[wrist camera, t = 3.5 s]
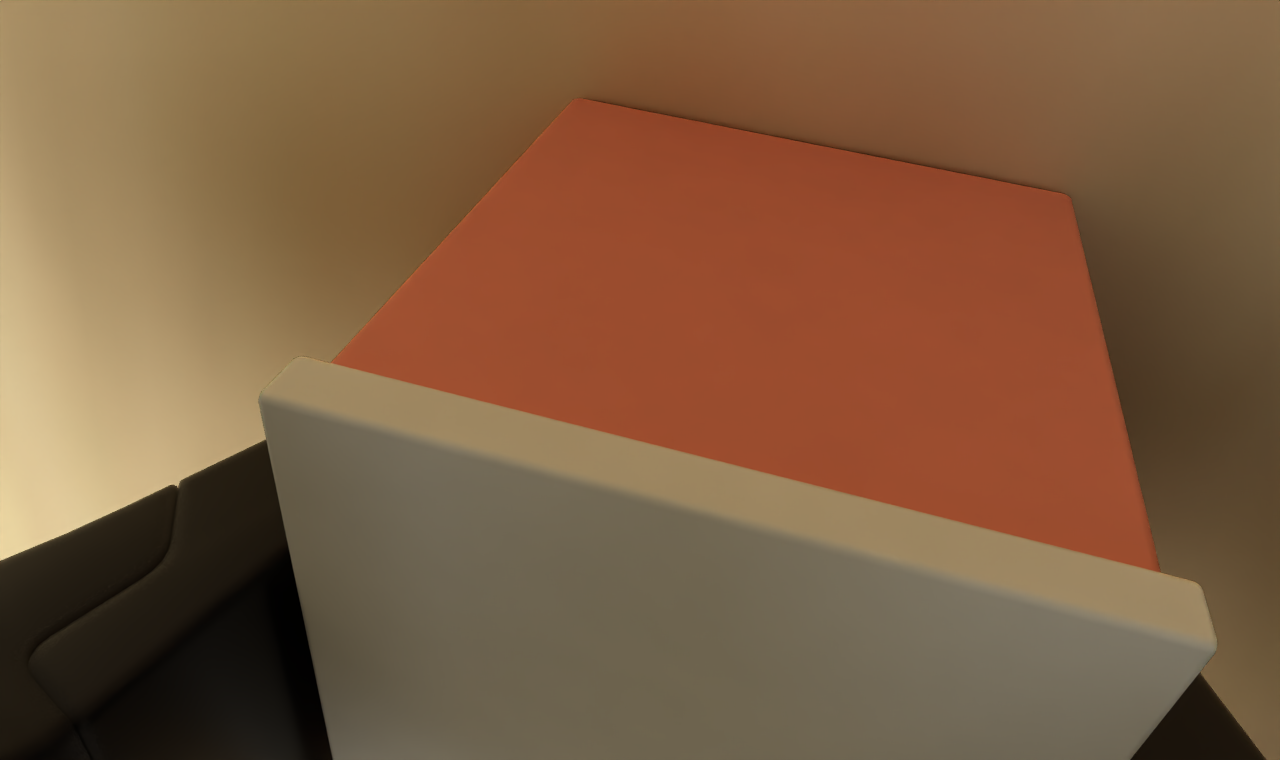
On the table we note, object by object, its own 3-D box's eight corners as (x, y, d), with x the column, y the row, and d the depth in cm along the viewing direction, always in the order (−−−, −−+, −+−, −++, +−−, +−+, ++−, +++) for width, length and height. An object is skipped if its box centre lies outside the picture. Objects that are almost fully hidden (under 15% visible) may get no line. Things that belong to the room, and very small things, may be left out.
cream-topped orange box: (916, 587, 11) (899, 1056, 7) (545, 489, 12) (352, 869, 8) (1090, 183, 8) (1225, 650, 4) (563, 81, 8) (251, 394, 5)
